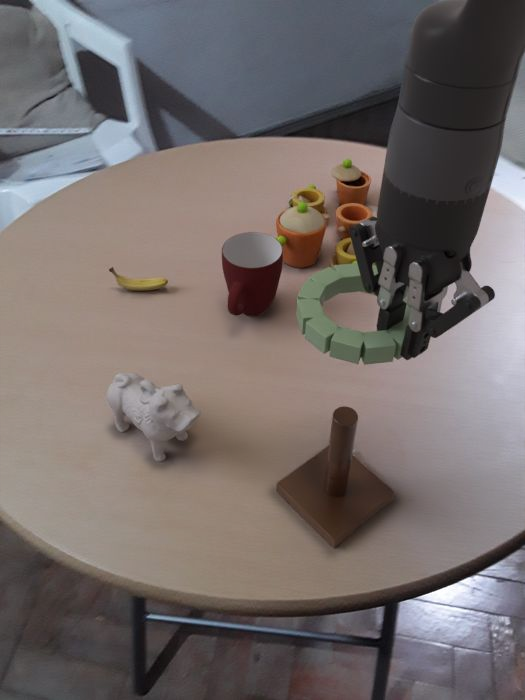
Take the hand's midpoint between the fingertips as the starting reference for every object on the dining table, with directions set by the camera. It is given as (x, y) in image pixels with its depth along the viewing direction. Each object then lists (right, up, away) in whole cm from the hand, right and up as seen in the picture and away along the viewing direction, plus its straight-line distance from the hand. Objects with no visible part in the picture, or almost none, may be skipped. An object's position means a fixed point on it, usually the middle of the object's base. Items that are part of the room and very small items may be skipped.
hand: (399, 345), depth 60 cm
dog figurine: (-24, -11, +20) cm, 33 cm away
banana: (-30, +8, +39) cm, 50 cm away
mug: (-14, +5, +36) cm, 38 cm away
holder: (-4, -16, +14) cm, 22 cm away
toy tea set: (-2, +18, +50) cm, 53 cm away
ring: (-3, +2, +3) cm, 5 cm away
